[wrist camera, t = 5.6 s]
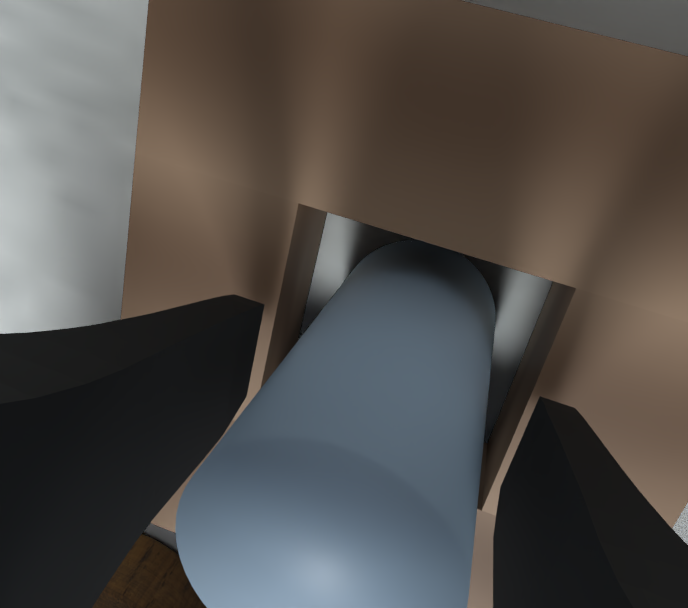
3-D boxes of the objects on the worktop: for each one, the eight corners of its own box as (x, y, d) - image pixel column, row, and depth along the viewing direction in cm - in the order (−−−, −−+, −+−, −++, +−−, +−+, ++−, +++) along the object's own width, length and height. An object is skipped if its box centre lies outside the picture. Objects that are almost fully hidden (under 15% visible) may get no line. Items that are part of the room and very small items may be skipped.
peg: (467, 403, 15) (417, 721, 8) (327, 355, 16) (161, 613, 8) (518, 268, 14) (514, 509, 6) (361, 220, 14) (195, 392, 7)
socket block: (565, 604, 16) (572, 691, 14) (155, 449, 18) (104, 504, 16) (840, 102, 11) (923, 114, 9) (219, -53, 13) (155, -75, 10)
